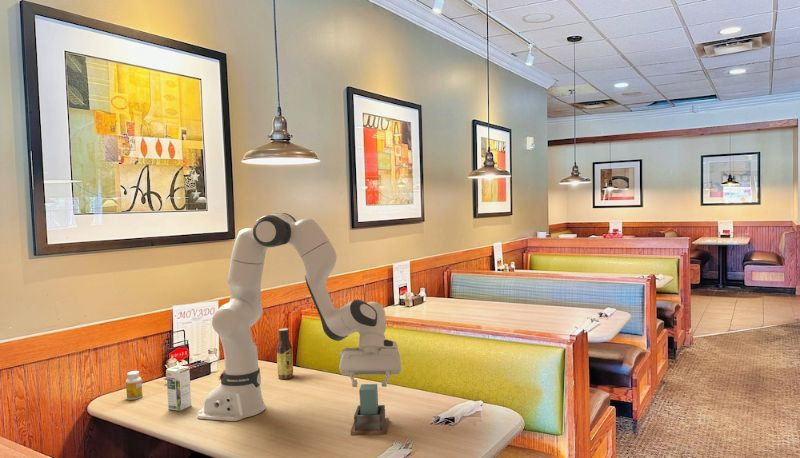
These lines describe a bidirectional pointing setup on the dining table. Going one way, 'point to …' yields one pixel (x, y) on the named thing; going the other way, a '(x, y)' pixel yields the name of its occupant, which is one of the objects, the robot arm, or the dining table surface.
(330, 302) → the robot arm
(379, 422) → the box
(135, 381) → the supplement bottle
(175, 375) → the syrup box
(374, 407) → the teal block
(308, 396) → the dining table surface
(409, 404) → the dining table surface
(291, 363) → the sauce bottle
